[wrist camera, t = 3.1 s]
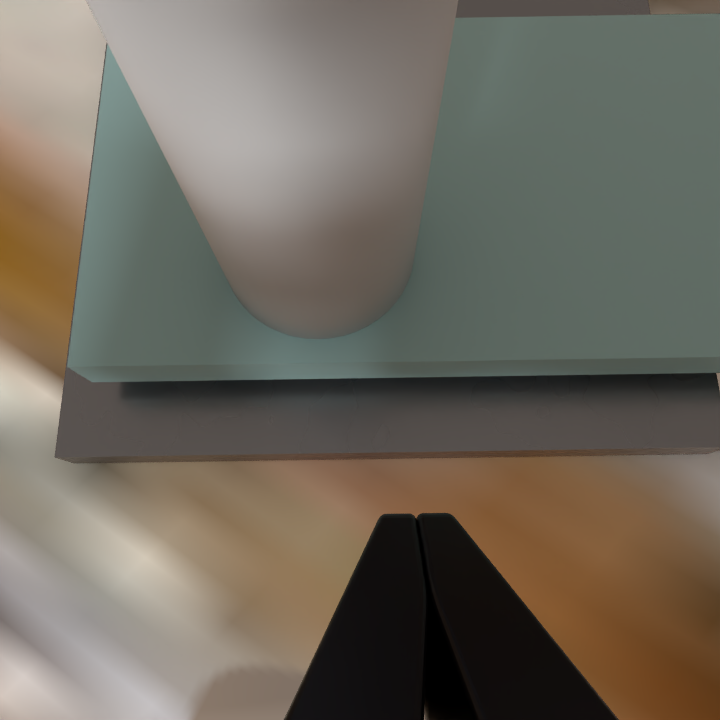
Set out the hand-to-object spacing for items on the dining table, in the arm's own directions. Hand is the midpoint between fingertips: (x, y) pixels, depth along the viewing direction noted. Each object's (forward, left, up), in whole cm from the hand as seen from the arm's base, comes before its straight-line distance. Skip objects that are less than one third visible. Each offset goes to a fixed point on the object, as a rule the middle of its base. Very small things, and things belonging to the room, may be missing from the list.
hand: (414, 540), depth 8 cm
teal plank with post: (+6, -5, -7) cm, 11 cm away
